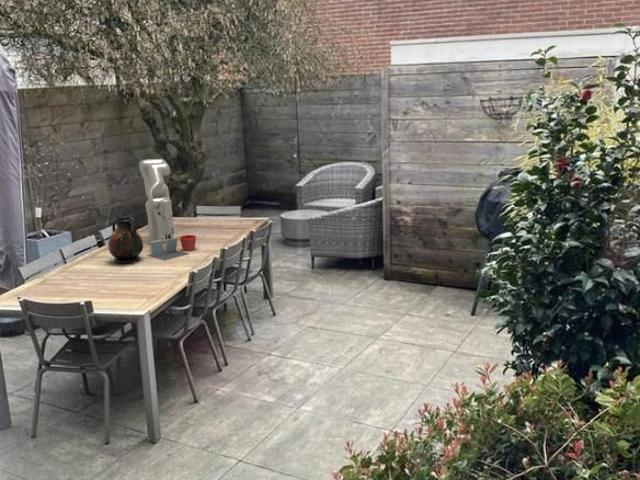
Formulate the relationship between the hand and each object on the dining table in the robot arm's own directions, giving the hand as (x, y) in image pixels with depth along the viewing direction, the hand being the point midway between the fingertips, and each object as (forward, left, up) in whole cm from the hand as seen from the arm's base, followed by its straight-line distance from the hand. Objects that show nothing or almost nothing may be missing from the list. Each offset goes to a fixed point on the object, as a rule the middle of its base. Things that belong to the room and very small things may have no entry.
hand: (168, 244), depth 407 cm
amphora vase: (-3, -30, -6) cm, 31 cm away
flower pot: (+7, +12, -6) cm, 15 cm away
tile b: (+2, -10, -5) cm, 12 cm away
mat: (+7, -5, -6) cm, 10 cm away
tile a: (+2, 0, -5) cm, 5 cm away
